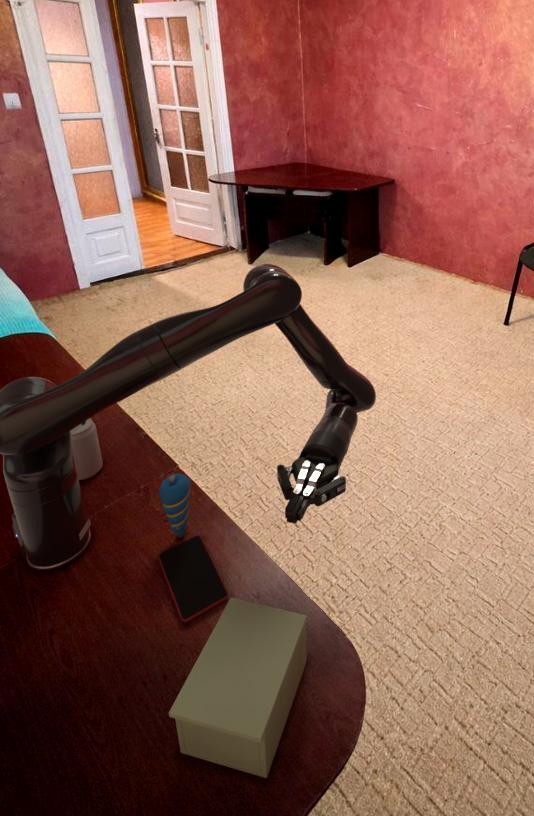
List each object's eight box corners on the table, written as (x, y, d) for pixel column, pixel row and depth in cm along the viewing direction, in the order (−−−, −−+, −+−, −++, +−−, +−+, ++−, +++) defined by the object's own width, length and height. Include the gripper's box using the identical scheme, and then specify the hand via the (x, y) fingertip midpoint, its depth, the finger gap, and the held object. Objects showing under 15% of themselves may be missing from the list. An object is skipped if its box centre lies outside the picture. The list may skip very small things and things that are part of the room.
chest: (266, 778, 59) (264, 734, 56) (180, 753, 60) (173, 709, 57) (307, 660, 71) (306, 619, 68) (234, 641, 73) (231, 601, 70)
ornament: (199, 526, 92) (193, 463, 87) (189, 549, 87) (182, 484, 82) (172, 525, 92) (163, 462, 87) (160, 549, 87) (150, 483, 82)
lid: (261, 743, 55) (260, 739, 55) (169, 717, 57) (168, 712, 56) (306, 619, 68) (306, 615, 68) (231, 600, 70) (230, 597, 70)
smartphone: (199, 533, 89) (229, 595, 79) (199, 537, 90) (230, 599, 79) (156, 553, 85) (182, 622, 74) (157, 557, 85) (183, 626, 74)
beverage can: (109, 462, 106) (101, 417, 102) (89, 484, 100) (79, 436, 96) (82, 459, 106) (73, 413, 102) (60, 480, 100) (49, 433, 96)
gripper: (293, 423, 90) (250, 492, 74) (362, 435, 88) (332, 508, 72) (294, 456, 93) (252, 528, 77) (360, 468, 91) (331, 545, 75)
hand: (291, 518), depth 74 cm, fingers closed
